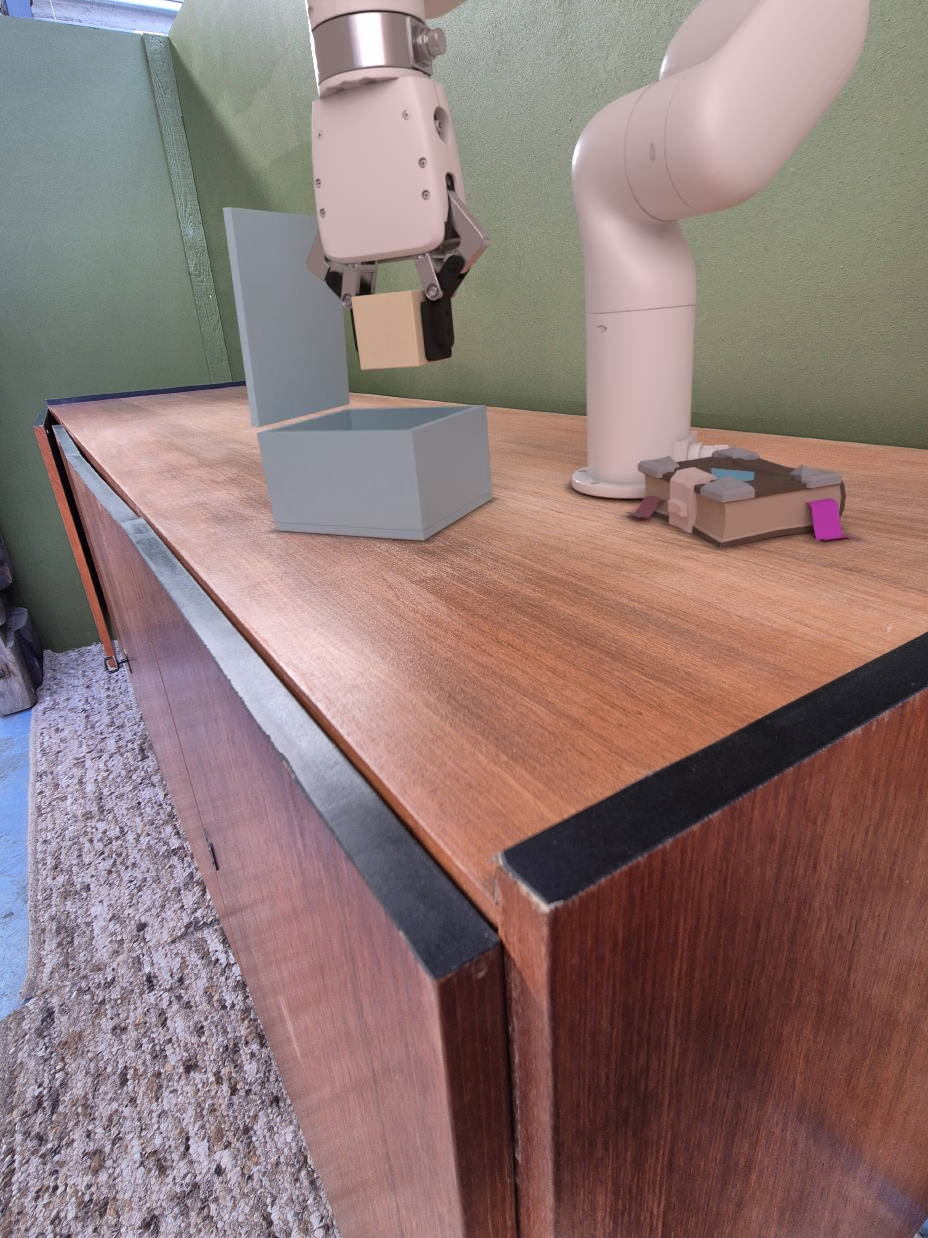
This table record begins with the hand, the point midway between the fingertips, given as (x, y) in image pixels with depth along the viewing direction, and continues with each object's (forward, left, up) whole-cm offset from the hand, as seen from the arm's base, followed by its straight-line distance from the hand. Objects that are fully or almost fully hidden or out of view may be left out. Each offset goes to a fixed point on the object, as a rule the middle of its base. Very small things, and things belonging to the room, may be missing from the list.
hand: (405, 358), depth 54 cm
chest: (+7, -5, -14) cm, 16 cm away
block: (0, 0, 0) cm, 0 cm away
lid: (+14, -5, +3) cm, 15 cm away
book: (-21, -10, -14) cm, 28 cm away
